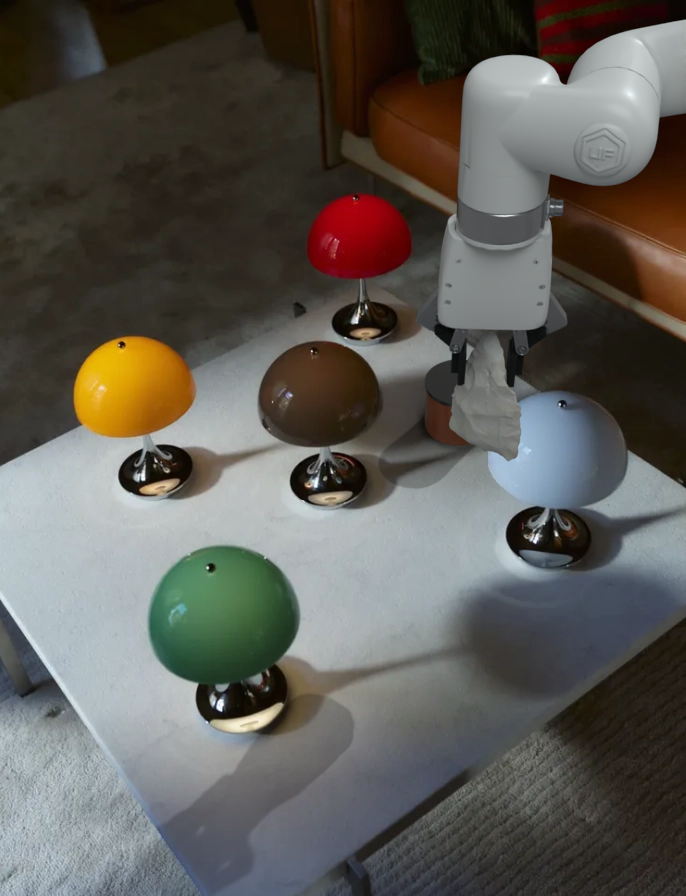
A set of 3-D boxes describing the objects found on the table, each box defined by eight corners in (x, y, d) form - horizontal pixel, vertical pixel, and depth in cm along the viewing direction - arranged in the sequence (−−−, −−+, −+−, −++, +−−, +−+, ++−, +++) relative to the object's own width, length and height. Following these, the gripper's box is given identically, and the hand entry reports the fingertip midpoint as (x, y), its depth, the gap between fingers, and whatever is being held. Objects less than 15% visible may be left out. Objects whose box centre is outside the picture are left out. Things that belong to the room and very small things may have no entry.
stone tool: (439, 441, 102) (454, 325, 92) (455, 427, 104) (471, 311, 94) (508, 475, 99) (531, 358, 88) (523, 460, 100) (547, 343, 90)
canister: (492, 402, 136) (496, 360, 130) (491, 448, 129) (496, 406, 124) (425, 399, 137) (426, 357, 131) (420, 444, 130) (422, 402, 125)
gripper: (597, 191, 83) (569, 356, 96) (405, 190, 85) (403, 352, 98) (604, 237, 78) (573, 405, 91) (399, 234, 80) (399, 399, 93)
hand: (485, 376), depth 95 cm, fingers closed on stone tool, 4 cm apart
